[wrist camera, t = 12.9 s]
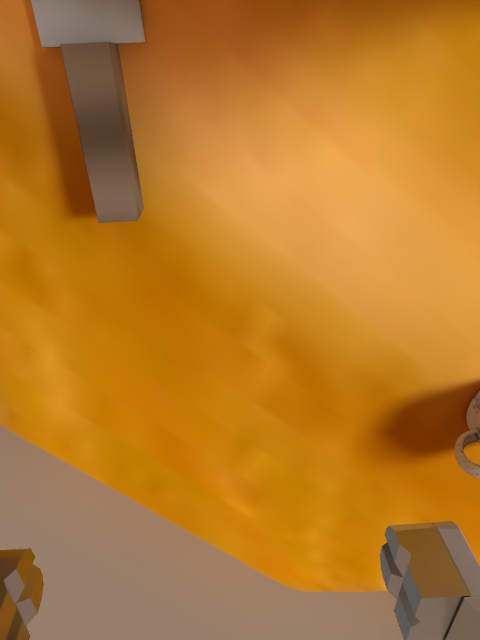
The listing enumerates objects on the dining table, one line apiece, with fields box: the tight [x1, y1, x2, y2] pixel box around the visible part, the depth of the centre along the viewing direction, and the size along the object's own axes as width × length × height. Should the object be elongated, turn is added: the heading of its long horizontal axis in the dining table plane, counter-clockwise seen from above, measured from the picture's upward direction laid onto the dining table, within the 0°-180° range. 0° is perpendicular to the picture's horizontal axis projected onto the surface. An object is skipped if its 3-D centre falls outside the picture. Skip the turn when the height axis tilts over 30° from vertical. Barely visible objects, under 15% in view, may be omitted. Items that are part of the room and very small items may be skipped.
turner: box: [31, 0, 146, 223], centre depth 26 cm, size 17×6×3 cm, turn 3°
